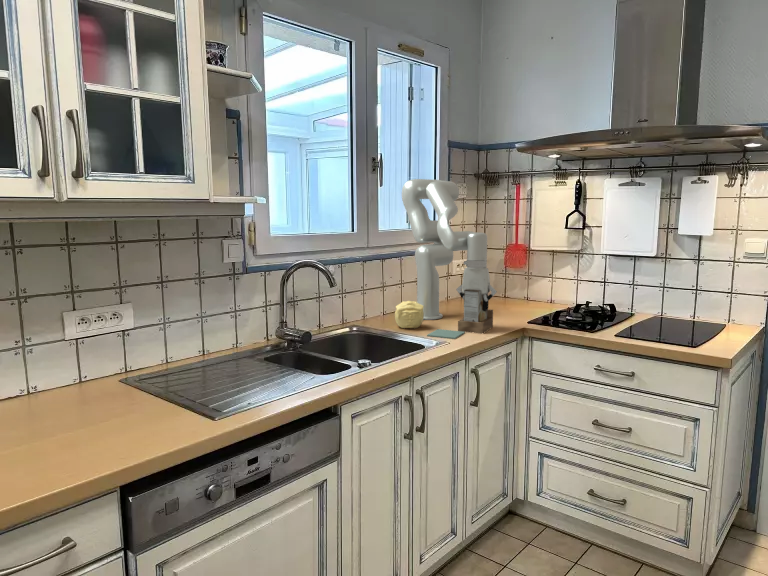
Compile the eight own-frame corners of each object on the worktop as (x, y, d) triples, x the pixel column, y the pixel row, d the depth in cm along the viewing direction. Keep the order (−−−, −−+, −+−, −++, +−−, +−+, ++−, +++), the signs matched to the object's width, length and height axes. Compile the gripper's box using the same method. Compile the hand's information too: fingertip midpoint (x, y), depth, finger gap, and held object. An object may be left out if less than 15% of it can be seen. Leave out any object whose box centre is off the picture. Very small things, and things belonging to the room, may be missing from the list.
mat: (427, 336, 209) (427, 334, 209) (437, 330, 218) (437, 329, 218) (455, 339, 204) (455, 337, 204) (464, 333, 213) (464, 331, 213)
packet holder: (457, 331, 217) (458, 313, 216) (468, 324, 228) (468, 307, 227) (483, 333, 212) (483, 315, 211) (492, 327, 224) (493, 309, 223)
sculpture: (395, 330, 218) (395, 303, 217) (394, 324, 230) (394, 298, 229) (425, 330, 219) (425, 303, 217) (421, 323, 231) (422, 298, 229)
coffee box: (472, 325, 226) (473, 286, 223) (487, 327, 222) (488, 287, 220) (463, 330, 218) (463, 289, 216) (478, 332, 215) (479, 290, 212)
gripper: (452, 264, 217) (451, 309, 220) (496, 266, 209) (494, 313, 212) (458, 262, 224) (458, 306, 226) (501, 264, 216) (500, 310, 219)
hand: (475, 309), depth 219 cm, fingers closed on coffee box, 6 cm apart
